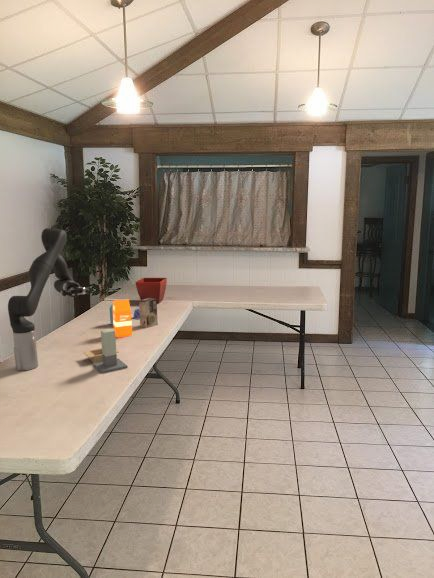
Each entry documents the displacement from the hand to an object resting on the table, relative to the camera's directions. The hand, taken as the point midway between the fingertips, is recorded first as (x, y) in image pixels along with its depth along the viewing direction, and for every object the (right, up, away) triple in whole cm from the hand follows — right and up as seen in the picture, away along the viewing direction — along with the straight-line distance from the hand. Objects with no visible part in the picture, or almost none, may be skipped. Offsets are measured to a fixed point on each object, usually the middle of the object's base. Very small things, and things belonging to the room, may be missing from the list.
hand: (80, 293), depth 224 cm
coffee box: (+26, -20, +54) cm, 63 cm away
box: (+18, -32, -15) cm, 40 cm away
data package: (+8, -20, +58) cm, 62 cm away
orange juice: (+14, -24, +35) cm, 45 cm away
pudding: (+16, -17, +75) cm, 79 cm away
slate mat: (+18, -33, -15) cm, 41 cm away
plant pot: (+18, -8, +120) cm, 122 cm away
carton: (+11, -31, -4) cm, 33 cm away
